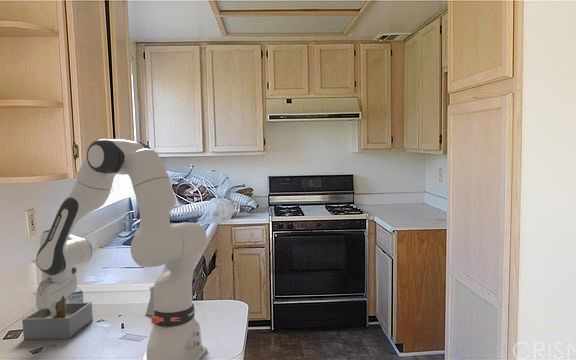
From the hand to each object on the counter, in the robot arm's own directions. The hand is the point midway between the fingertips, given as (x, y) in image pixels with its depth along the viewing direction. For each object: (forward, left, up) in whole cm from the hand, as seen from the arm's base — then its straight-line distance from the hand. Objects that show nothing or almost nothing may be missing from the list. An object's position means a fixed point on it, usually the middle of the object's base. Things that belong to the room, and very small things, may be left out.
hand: (58, 312), depth 160 cm
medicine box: (+19, +4, -6) cm, 20 cm away
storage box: (0, 0, -6) cm, 6 cm away
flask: (+15, -29, -6) cm, 33 cm away
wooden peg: (0, 0, -4) cm, 4 cm away
